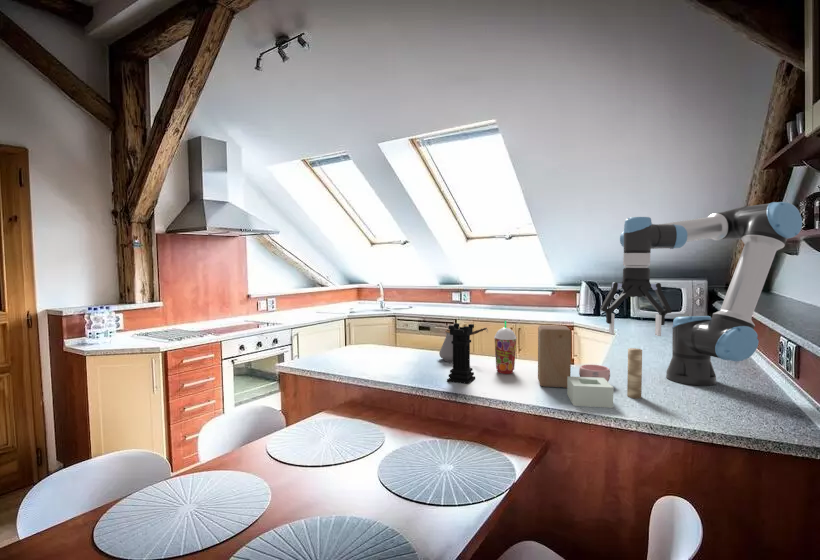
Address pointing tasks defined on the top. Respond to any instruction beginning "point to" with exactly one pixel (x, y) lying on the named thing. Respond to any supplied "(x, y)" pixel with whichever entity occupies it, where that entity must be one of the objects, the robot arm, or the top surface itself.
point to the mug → (594, 371)
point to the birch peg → (634, 373)
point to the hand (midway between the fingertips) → (634, 334)
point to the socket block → (590, 392)
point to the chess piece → (461, 354)
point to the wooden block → (554, 355)
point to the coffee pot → (451, 346)
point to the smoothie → (505, 350)
